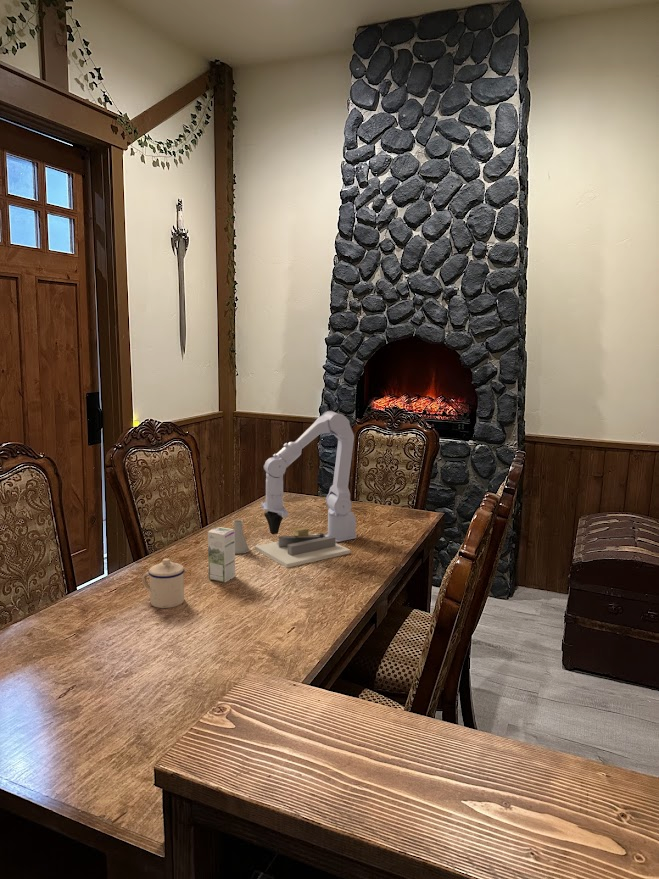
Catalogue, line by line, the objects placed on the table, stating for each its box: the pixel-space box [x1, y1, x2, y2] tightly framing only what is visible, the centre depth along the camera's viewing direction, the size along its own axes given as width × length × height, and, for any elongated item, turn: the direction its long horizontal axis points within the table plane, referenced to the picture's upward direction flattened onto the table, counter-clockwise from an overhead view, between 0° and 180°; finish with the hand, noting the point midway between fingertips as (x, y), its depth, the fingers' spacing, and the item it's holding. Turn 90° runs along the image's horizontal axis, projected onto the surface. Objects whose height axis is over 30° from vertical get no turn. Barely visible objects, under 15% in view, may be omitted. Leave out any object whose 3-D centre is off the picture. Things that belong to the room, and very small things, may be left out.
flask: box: [232, 519, 250, 555], centre depth 208 cm, size 7×7×10 cm
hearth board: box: [254, 533, 351, 569], centre depth 208 cm, size 24×20×4 cm
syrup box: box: [207, 526, 236, 584], centre depth 184 cm, size 6×6×14 cm
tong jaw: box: [277, 532, 326, 547], centre depth 211 cm, size 15×2×4 cm, turn 100°
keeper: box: [293, 526, 309, 536], centre depth 214 cm, size 4×2×4 cm, turn 125°
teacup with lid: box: [141, 558, 186, 609], centre depth 168 cm, size 12×9×12 cm
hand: (274, 533), depth 215 cm, fingers closed
